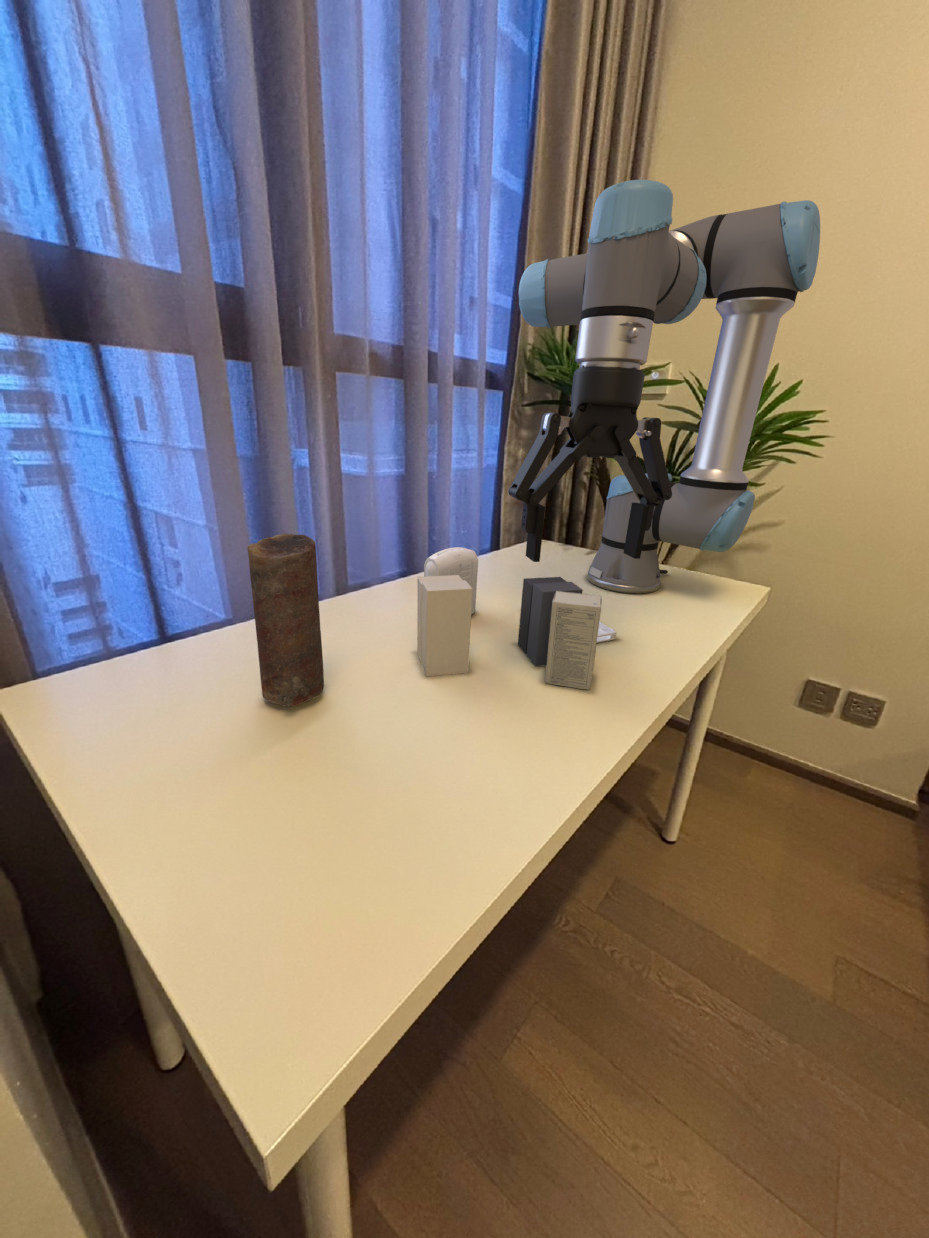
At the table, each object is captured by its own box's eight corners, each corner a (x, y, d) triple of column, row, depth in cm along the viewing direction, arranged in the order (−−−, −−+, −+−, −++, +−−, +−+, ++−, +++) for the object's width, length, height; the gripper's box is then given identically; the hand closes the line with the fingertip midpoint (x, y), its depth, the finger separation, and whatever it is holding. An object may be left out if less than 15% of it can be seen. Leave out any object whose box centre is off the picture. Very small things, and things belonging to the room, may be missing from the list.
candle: (339, 693, 64) (328, 539, 56) (294, 721, 58) (275, 553, 51) (296, 676, 68) (281, 529, 60) (250, 701, 62) (226, 541, 54)
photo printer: (462, 606, 93) (465, 541, 89) (479, 613, 91) (482, 546, 86) (419, 620, 87) (419, 550, 82) (435, 628, 84) (436, 556, 79)
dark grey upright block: (552, 641, 81) (560, 573, 76) (572, 662, 75) (582, 589, 70) (517, 644, 80) (523, 575, 75) (534, 666, 73) (542, 591, 69)
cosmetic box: (591, 676, 71) (604, 595, 66) (589, 691, 67) (603, 607, 62) (546, 669, 72) (556, 589, 68) (542, 683, 68) (552, 600, 64)
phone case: (530, 612, 92) (580, 646, 80) (530, 605, 92) (581, 638, 79) (563, 607, 95) (616, 639, 83) (563, 600, 95) (618, 631, 82)
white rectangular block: (456, 649, 77) (458, 571, 72) (468, 672, 71) (472, 588, 66) (417, 652, 76) (417, 573, 71) (426, 676, 69) (427, 590, 64)
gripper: (513, 356, 48) (497, 569, 56) (730, 373, 54) (688, 562, 63) (489, 362, 55) (478, 551, 63) (686, 376, 61) (653, 547, 69)
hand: (583, 557), depth 63 cm, fingers open, 13 cm apart
